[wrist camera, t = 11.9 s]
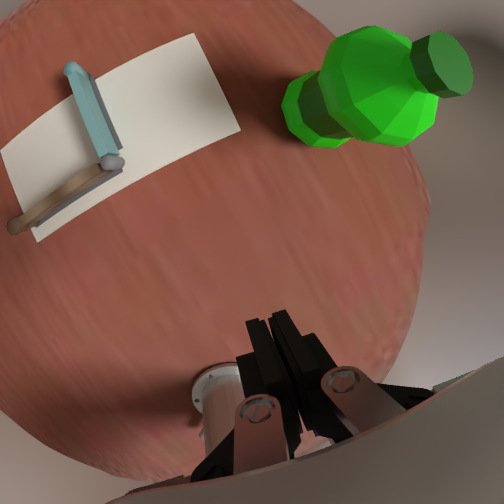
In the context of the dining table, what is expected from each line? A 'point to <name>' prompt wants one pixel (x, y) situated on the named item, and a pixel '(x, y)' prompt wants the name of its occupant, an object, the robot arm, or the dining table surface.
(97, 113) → the teal bar
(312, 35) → the dining table surface
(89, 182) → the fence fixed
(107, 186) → the card
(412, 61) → the plastic bottle
